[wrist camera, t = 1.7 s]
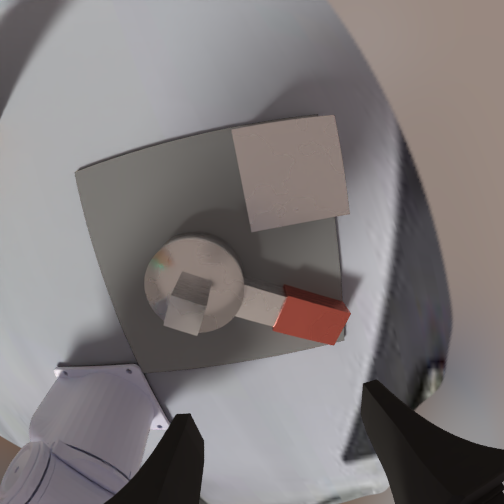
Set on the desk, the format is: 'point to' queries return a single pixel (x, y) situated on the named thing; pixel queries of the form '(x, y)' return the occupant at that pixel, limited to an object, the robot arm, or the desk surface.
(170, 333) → the mat
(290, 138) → the pale grey cube
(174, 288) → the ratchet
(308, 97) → the desk surface
